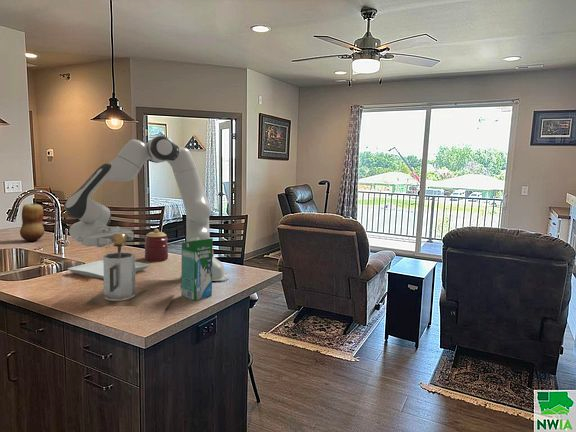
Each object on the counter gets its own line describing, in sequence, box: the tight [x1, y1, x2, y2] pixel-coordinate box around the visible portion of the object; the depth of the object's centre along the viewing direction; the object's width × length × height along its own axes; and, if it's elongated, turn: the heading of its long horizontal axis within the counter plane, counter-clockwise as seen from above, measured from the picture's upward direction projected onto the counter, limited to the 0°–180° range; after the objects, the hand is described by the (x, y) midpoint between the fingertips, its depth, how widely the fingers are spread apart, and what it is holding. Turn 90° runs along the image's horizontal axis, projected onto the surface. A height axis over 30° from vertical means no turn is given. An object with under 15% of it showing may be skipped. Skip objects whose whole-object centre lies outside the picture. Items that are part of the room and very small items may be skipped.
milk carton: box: [180, 237, 214, 302], centre depth 163 cm, size 9×9×25 cm
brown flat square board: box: [83, 288, 153, 307], centre depth 155 cm, size 20×20×2 cm
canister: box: [144, 228, 169, 262], centre depth 224 cm, size 13×13×18 cm
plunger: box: [112, 233, 126, 258], centre depth 154 cm, size 8×8×24 cm
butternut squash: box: [19, 203, 45, 242], centre depth 260 cm, size 14×13×25 cm
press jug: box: [102, 252, 136, 302], centre depth 153 cm, size 11×14×17 cm
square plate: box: [67, 259, 150, 280], centre depth 194 cm, size 27×27×4 cm
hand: (120, 240), depth 152 cm, fingers open, 8 cm apart
